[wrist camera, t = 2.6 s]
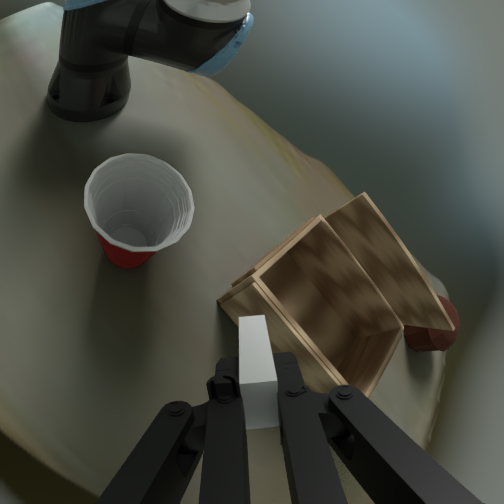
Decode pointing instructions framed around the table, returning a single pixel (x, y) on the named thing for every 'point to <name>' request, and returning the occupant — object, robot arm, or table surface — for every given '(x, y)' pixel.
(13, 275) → the table surface
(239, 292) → the light wood open box
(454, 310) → the muffin
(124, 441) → the table surface
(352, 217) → the flap
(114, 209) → the plastic cup
